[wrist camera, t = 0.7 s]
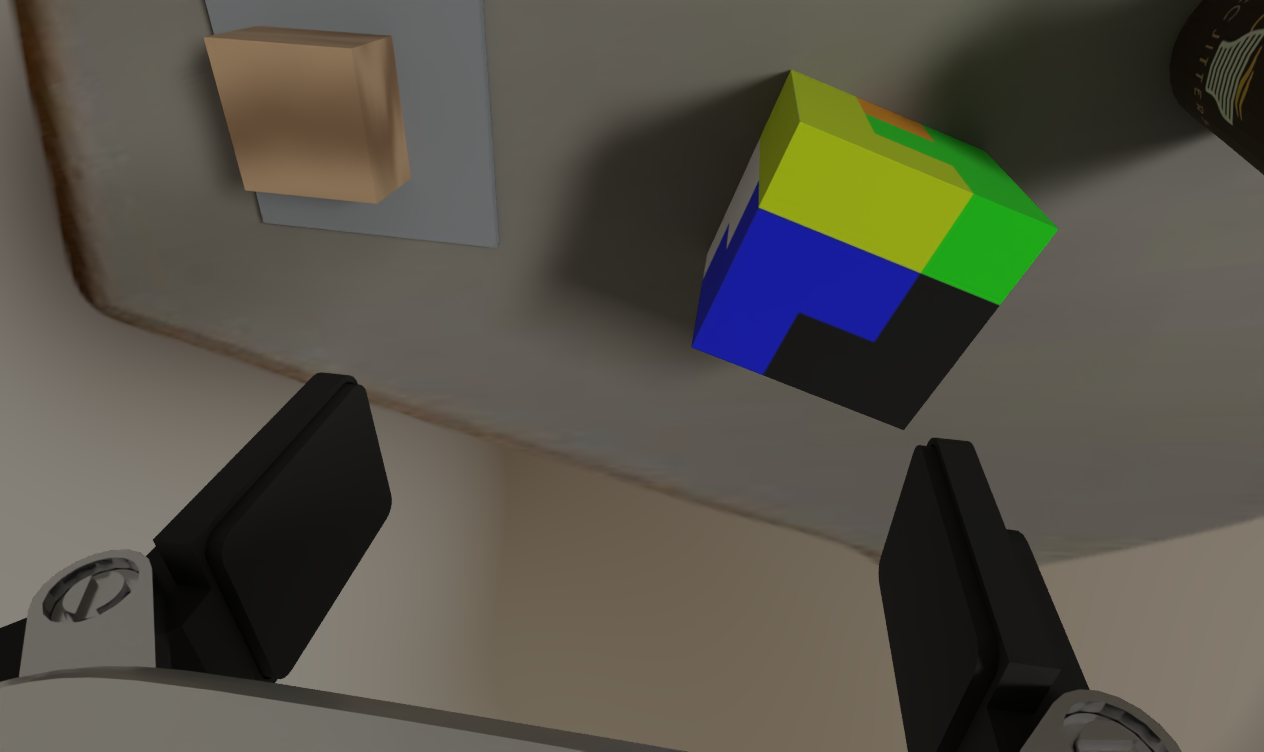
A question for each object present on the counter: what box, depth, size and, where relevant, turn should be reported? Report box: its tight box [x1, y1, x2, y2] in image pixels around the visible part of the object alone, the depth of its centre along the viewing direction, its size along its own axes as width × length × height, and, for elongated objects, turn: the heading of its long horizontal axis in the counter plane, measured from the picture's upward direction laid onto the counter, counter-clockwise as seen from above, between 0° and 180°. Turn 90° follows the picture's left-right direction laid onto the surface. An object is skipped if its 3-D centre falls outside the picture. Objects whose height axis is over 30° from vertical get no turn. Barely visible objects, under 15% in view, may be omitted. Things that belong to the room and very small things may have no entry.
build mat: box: [205, 0, 499, 248], centre depth 35 cm, size 18×14×1 cm
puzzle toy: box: [691, 70, 1058, 430], centre depth 31 cm, size 10×10×10 cm
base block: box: [204, 26, 411, 204], centre depth 34 cm, size 7×7×4 cm
